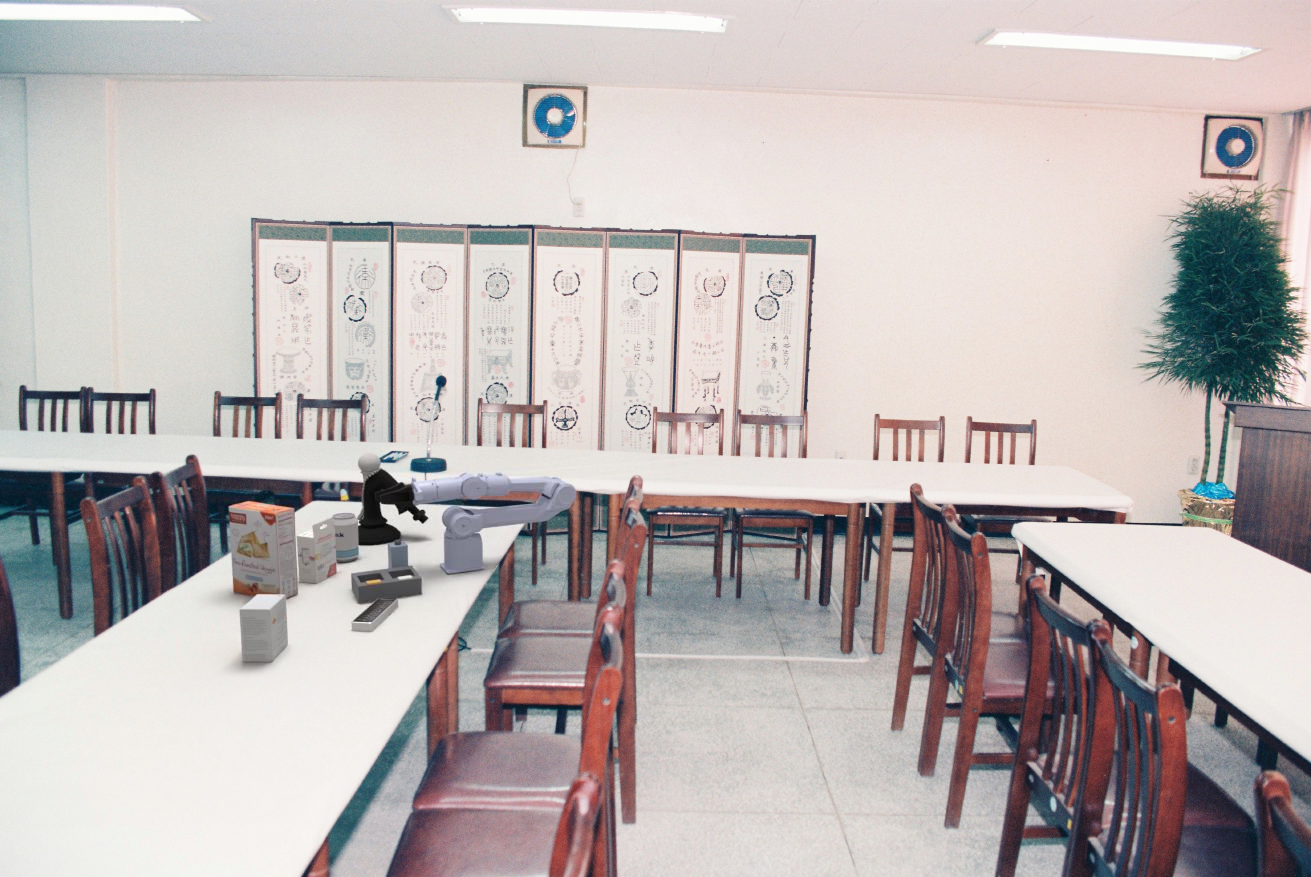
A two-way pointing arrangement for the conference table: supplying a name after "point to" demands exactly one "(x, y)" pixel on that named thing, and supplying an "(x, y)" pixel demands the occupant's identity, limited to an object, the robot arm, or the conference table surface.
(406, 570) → the port box
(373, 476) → the sculpture
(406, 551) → the plug
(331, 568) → the ink cartridge box
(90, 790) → the conference table surface
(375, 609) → the multiport hub
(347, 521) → the beverage can
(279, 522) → the cracker box
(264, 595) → the small box
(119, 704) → the conference table surface
